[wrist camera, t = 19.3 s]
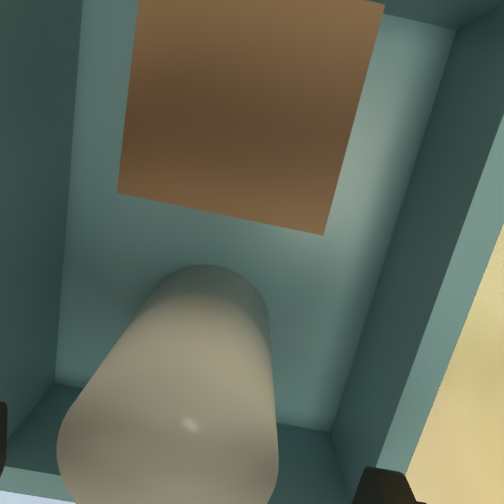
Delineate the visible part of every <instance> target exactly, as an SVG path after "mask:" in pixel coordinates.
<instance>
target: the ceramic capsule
mask: <svg viewBox="0 0 504 504" xmlns="http://www.w3.org/2000/svg"><path fill="white" fill-rule="evenodd" d="M57 462H58V468H59V472H60V475H61V478H62V481H63V483H64V485H65V487H66V489H67V491H68V492H69V494H70V495H71V497H72V498H73V500H74V501H75V502H76V504H267V503H268V501H269V499H270V497H271V495H272V493H273V490H274V488H275V485H276V481H277V476H278V467H279V457H278V442H277V427H276V413H275V398H274V383H273V368H272V354H271V339H270V324H269V315H268V311H267V307H266V304H265V302H264V300H263V298H262V296H261V295H260V293H259V292H258V290H257V289H256V288H255V287H254V285H252V284H251V283H250V282H249V281H248V280H247V279H246V278H244V277H243V276H241V275H240V274H238V273H236V272H234V271H232V270H229V269H227V268H224V267H220V266H214V265H195V266H189V267H185V268H182V269H180V270H177V271H175V272H173V273H172V274H170V275H168V276H167V277H166V278H164V279H163V280H162V281H161V282H160V283H159V284H158V285H157V286H156V288H155V289H154V290H153V292H152V293H151V295H150V296H149V297H148V299H147V300H146V302H145V303H144V304H143V306H142V307H141V309H140V310H139V311H138V313H137V314H136V316H135V317H134V318H133V320H132V321H131V323H130V324H129V326H128V327H127V328H126V330H125V331H124V333H123V334H122V335H121V337H120V338H119V340H118V341H117V342H116V344H115V345H114V347H113V348H112V349H111V351H110V352H109V354H108V355H107V357H106V358H105V359H104V361H103V362H102V364H101V365H100V366H99V368H98V369H97V371H96V372H95V373H94V375H93V376H92V378H91V379H90V380H89V382H88V383H87V385H86V386H85V388H84V389H83V390H82V392H81V393H80V395H79V396H78V397H77V399H76V400H75V402H74V403H73V404H72V406H71V407H70V409H69V410H68V412H67V414H66V416H65V417H64V419H63V421H62V424H61V427H60V430H59V433H58V439H57Z"/></svg>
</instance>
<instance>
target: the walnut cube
mask: <svg viewBox="0 0 504 504" xmlns="http://www.w3.org/2000/svg"><path fill="white" fill-rule="evenodd" d="M384 7H385V5H383V4H379V3H375V2H371V1H367V0H138V8H137V17H136V26H135V35H134V44H133V53H132V61H131V70H130V79H129V88H128V97H127V106H126V114H125V123H124V132H123V141H122V150H121V158H120V167H119V176H118V185H117V193H120V194H125V195H129V196H134V197H139V198H144V199H149V200H153V201H158V202H163V203H168V204H173V205H178V206H182V207H187V208H192V209H197V210H202V211H206V212H211V213H216V214H221V215H226V216H231V217H235V218H240V219H245V220H250V221H255V222H259V223H264V224H269V225H274V226H279V227H284V228H288V229H293V230H298V231H303V232H308V233H312V234H317V235H322V236H323V235H324V231H325V228H326V224H327V220H328V216H329V213H330V209H331V205H332V202H333V198H334V194H335V190H336V187H337V183H338V179H339V175H340V172H341V168H342V164H343V160H344V157H345V153H346V149H347V145H348V142H349V138H350V134H351V131H352V127H353V123H354V119H355V116H356V112H357V108H358V104H359V101H360V97H361V93H362V89H363V86H364V82H365V78H366V75H367V71H368V67H369V63H370V60H371V56H372V52H373V48H374V45H375V41H376V37H377V33H378V30H379V26H380V22H381V19H382V15H383V11H384Z"/></svg>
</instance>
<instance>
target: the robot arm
mask: <svg viewBox="0 0 504 504" xmlns="http://www.w3.org/2000/svg"><path fill="white" fill-rule="evenodd" d="M7 415H8V408H7V405H6V403H5V402H2V401H0V477H1V474H2V472H3V469H4V466H5V462H6V452H7ZM352 504H426V503H423V502H417V501H416V499H415V497H414V495H413V492H412V490H411V488H410V486H409V483H408V481H407V479H406V477H405V476H404V474H403V473H401V472H399V471H393V470H387V469H382V468H376V467H370V466H367V467H366V468H365V469H364V471H363V473H362V476H361V478H360V481H359V484H358V487H357V490H356V492H355V495H354V498H353V501H352Z"/></svg>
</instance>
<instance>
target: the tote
mask: <svg viewBox="0 0 504 504" xmlns="http://www.w3.org/2000/svg"><path fill="white" fill-rule="evenodd" d="M367 1H371V2H375V3H379V4H383V5H385V7H384V11H383V15H382V19H381V22H380V26H379V30H378V33H377V37H376V41H375V45H374V48H373V52H372V56H371V60H370V63H369V67H368V71H367V75H366V78H365V82H364V86H363V89H362V93H361V97H360V101H359V104H358V108H357V112H356V116H355V119H354V123H353V127H352V131H351V134H350V138H349V142H348V145H347V149H346V153H345V157H344V160H343V164H342V168H341V172H340V175H339V179H338V183H337V187H336V190H335V194H334V198H333V202H332V205H331V209H330V213H329V216H328V220H327V224H326V228H325V231H324V235H323V236H322V235H317V234H312V233H308V232H303V231H298V230H293V229H288V228H284V227H279V226H274V225H269V224H264V223H259V222H255V221H250V220H245V219H240V218H235V217H231V216H226V215H221V214H216V213H211V212H206V211H202V210H197V209H192V208H187V207H182V206H178V205H173V204H168V203H163V202H158V201H153V200H149V199H144V198H139V197H134V196H129V195H125V194H120V193H117V185H118V176H119V167H120V158H121V150H122V141H123V132H124V123H125V114H126V106H127V97H128V88H129V79H130V70H131V61H132V53H133V44H134V35H135V26H136V17H137V8H138V0H0V401H2V402H5V403H6V405H7V408H8V415H7V452H6V462H5V466H4V469H3V472H2V474H1V477H0V490H1V491H8V492H14V493H20V494H26V495H32V496H39V497H45V498H51V499H57V500H63V501H70V502H75V501H74V500H73V498H72V497H71V495H70V494H69V492H68V491H67V489H66V487H65V485H64V483H63V481H62V478H61V475H60V472H59V468H58V462H57V439H58V433H59V430H60V427H61V424H62V421H63V419H64V417H65V416H66V414H67V412H68V410H69V409H70V407H71V406H72V404H73V403H74V402H75V400H76V399H77V397H78V396H79V395H80V393H81V392H82V390H83V389H84V388H85V386H86V385H87V383H88V382H89V380H90V379H91V378H92V376H93V375H94V373H95V372H96V371H97V369H98V368H99V366H100V365H101V364H102V362H103V361H104V359H105V358H106V357H107V355H108V354H109V352H110V351H111V349H112V348H113V347H114V345H115V344H116V342H117V341H118V340H119V338H120V337H121V335H122V334H123V333H124V331H125V330H126V328H127V327H128V326H129V324H130V323H131V321H132V320H133V318H134V317H135V316H136V314H137V313H138V311H139V310H140V309H141V307H142V306H143V304H144V303H145V302H146V300H147V299H148V297H149V296H150V295H151V293H152V292H153V290H154V289H155V288H156V286H157V285H158V284H159V283H160V282H161V281H162V280H163V279H164V278H166V277H167V276H168V275H170V274H172V273H173V272H175V271H177V270H180V269H182V268H185V267H189V266H195V265H214V266H220V267H224V268H227V269H229V270H232V271H234V272H236V273H238V274H240V275H241V276H243V277H244V278H246V279H247V280H248V281H249V282H250V283H251V284H252V285H254V287H255V288H256V289H257V290H258V292H259V293H260V295H261V296H262V298H263V300H264V302H265V304H266V307H267V311H268V315H269V324H270V339H271V354H272V368H273V383H274V398H275V413H276V427H277V442H278V457H279V467H278V476H277V481H276V485H275V488H274V490H273V493H272V495H271V497H270V499H269V501H268V503H267V504H352V501H353V498H354V495H355V492H356V490H357V487H358V484H359V481H360V478H361V476H362V473H363V471H364V469H365V468H366V467H367V466H370V467H376V468H382V469H387V470H393V471H399V472H401V473H403V474H404V476H405V474H406V471H407V469H408V466H409V464H410V461H411V459H412V456H413V454H414V451H415V448H416V446H417V443H418V441H419V438H420V436H421V433H422V431H423V428H424V425H425V423H426V420H427V418H428V415H429V413H430V410H431V408H432V405H433V402H434V400H435V397H436V395H437V392H438V390H439V387H440V384H441V382H442V379H443V377H444V374H445V372H446V369H447V367H448V364H449V361H450V359H451V356H452V354H453V351H454V349H455V346H456V344H457V341H458V338H459V336H460V333H461V331H462V328H463V326H464V323H465V320H466V318H467V315H468V313H469V310H470V308H471V305H472V303H473V300H474V297H475V295H476V292H477V290H478V287H479V285H480V282H481V280H482V277H483V274H484V272H485V269H486V267H487V264H488V262H489V259H490V256H491V254H492V251H493V249H494V246H495V244H496V241H497V239H498V236H499V233H500V231H501V228H502V226H503V223H504V0H367Z"/></svg>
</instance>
